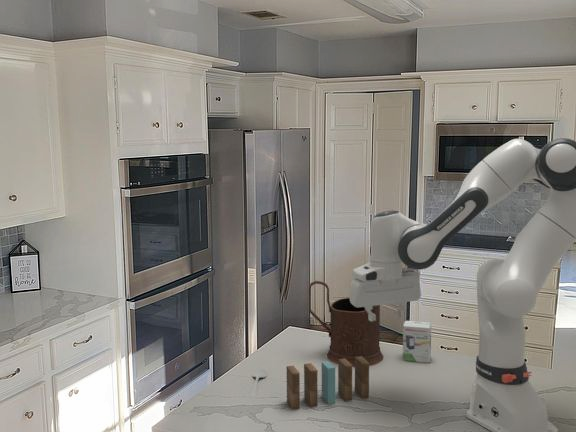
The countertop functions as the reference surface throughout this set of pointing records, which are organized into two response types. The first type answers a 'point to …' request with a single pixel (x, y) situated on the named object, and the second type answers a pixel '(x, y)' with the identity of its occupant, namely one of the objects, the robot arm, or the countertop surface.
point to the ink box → (416, 341)
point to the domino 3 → (328, 382)
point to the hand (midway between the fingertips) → (385, 318)
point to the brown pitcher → (351, 331)
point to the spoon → (257, 372)
